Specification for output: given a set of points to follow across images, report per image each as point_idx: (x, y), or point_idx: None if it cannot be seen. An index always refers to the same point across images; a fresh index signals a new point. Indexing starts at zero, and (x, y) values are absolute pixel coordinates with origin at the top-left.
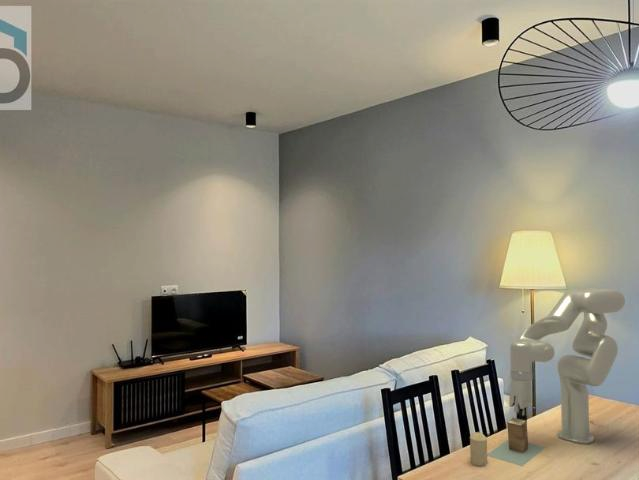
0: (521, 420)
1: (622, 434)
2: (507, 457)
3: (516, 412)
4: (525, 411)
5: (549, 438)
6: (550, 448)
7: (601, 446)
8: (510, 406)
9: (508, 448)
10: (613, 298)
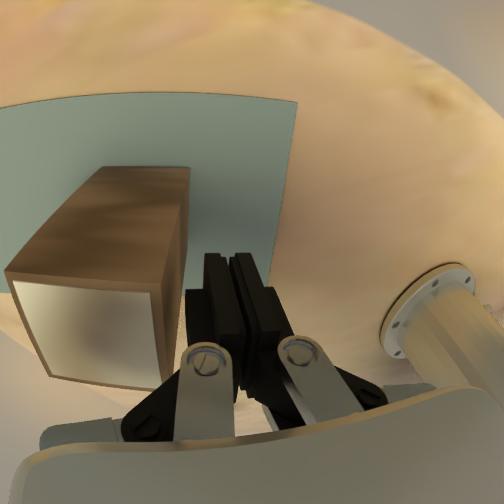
0: (144, 367)
1: None
2: (5, 211)
3: (177, 379)
4: (270, 423)
5: (402, 255)
6: (288, 297)
7: (379, 371)
8: (42, 451)
9: (113, 156)
10: None
